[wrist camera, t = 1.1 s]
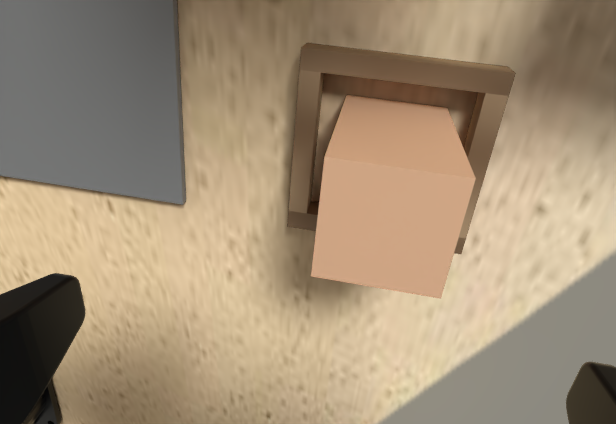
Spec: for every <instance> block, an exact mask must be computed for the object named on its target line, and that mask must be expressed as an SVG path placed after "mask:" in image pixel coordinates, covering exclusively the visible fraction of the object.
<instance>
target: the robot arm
mask: <svg viewBox="0 0 616 424" xmlns="http://www.w3.org/2000/svg"><path fill="white" fill-rule="evenodd" d="M84 318H85V306H84V301H83V296H82V292H81V287H80V283H79V280H78V279H77V278H76V277H74V276H71V275H65V274H59V273H54V274H50V275H48V276H45V277H43V278H40V279H38V280H35V281H33V282H31V283H28V284H26V285H23V286H21V287H18V288H16V289H13V290H11V291H8V292H6V293H3V294H1V295H0V424H60V423H61V416H60V412H59V408H58V404H57V401H56V397H55V393H54V389H53V385H52V381H51V379H52V377H53V375H54V374H55V372H56V370H57V368H58V366H59V365H60V363H61V361H62V359H63V357H64V356H65V354H66V352H67V350H68V349H69V347H70V345H71V343H72V341H73V340H74V338H75V336H76V334H77V332H78V331H79V329H80V327H81V325H82V323H83V321H84ZM566 409H567V414H568V420H569V424H616V367H614V366H612V365H608V364H602V363H596V362H586V363H584V364H583V365H582V367H581V368H580V370H579V372H578V374H577V376H576V378H575V380H574V382H573V384H572V386H571V388H570V390H569V392H568V395H567V400H566Z"/></svg>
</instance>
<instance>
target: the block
mask: <svg viewBox="0 0 616 424" xmlns="http://www.w3.org/2000/svg"><path fill="white" fill-rule="evenodd" d="M475 179H476V178H475V175H474V173H473V170H472V168H471V166H470V163H469V161H468V158H467V156H466V153H465V151H464V148H463V146H462V143H461V141H460V138H459V136H458V133H457V131H456V128H455V126H454V123H453V121H452V118H451V116H450V113H449V111H448V109H447V108H445V107H437V106H429V105H422V104H414V103H406V102H398V101H391V100H383V99H375V98H367V97H360V96H352V95H346V98H345V101H344V104H343V107H342V109H341V112H340V115H339V118H338V120H337V123H336V126H335V129H334V132H333V134H332V137H331V140H330V143H329V146H328V148H327V151H326V154H325V157H324V165H323V174H322V183H321V191H320V200H319V209H318V218H317V227H316V236H315V244H314V253H313V262H312V271H311V276H312V277H318V278H323V279H329V280H335V281H341V282H347V283H353V284H359V285H365V286H370V287H376V288H382V289H388V290H394V291H400V292H406V293H412V294H417V295H423V296H429V297H435V298H441V296H442V293H443V289H444V286H445V282H446V279H447V275H448V272H449V269H450V265H451V262H452V258H453V255H454V251H455V248H456V245H457V241H458V238H459V234H460V231H461V227H462V224H463V221H464V217H465V214H466V210H467V207H468V203H469V200H470V197H471V193H472V190H473V186H474V183H475Z"/></svg>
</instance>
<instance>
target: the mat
mask: <svg viewBox="0 0 616 424" xmlns="http://www.w3.org/2000/svg"><path fill="white" fill-rule="evenodd" d="M0 176H6V177H12V178H18V179H25V180H31V181H37V182H44V183H50V184H56V185H63V186H69V187H75V188H81V189H88V190H94V191H100V192H107V193H113V194H119V195H126V196H132V197H138V198H144V199H151V200H157V201H163V202H170V203H176V204H182V205H183V204H184V203H185V202H186V187H185V165H184V143H183V121H182V99H181V77H180V54H179V32H178V10H177V0H0Z"/></svg>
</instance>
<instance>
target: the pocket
mask: <svg viewBox="0 0 616 424" xmlns="http://www.w3.org/2000/svg"><path fill="white" fill-rule="evenodd" d="M324 73H328V74H336V75H344V76H352V77H360V78H368V79H376V80H384V81H392V82H400V83H408V84H416V85H424V86H432V87H440V88H448V89H456V90H464V91H472V92H478V95H477V99H476V103H475V107H474V110H473V114H472V118H471V122H470V125H469V129H468V133H467V137H466V140H465V144H464V151H465V153H466V156H467V158H468V161H469V163H470V166H471V168H472V170H473V173H474V175H475V178H476V179H475V183H474V186H473V190H472V193H471V197H470V200H469V203H468V207H467V210H466V214H465V217H464V221H463V224H462V227H461V231H460V234H459V238H458V241H457V245H456V248H455V251H454V253H457V254H461V253H462V250H463V246H464V243H465V240H466V236H467V233H468V230H469V226H470V223H471V220H472V216H473V213H474V210H475V207H476V203H477V200H478V197H479V193H480V190H481V187H482V183H483V180H484V177H485V173H486V170H487V167H488V163H489V160H490V157H491V153H492V150H493V147H494V143H495V140H496V137H497V133H498V130H499V127H500V123H501V120H502V117H503V113H504V110H505V107H506V103H507V100H508V97H509V93H510V90H511V87H512V83H513V80H514V77H515V72H514V71H512V70H511V69H510V68H509V67H505V66H497V65H488V64H480V63H472V62H463V61H455V60H446V59H438V58H430V57H421V56H413V55H404V54H396V53H387V52H379V51H371V50H362V49H354V48H345V47H337V46H329V45H320V44H312V43H306V44H305V45H303V46H302V47H301V56H300V69H299V82H298V95H297V108H296V121H295V134H294V147H293V159H292V172H291V185H290V198H289V211H288V224H287V226H288V227H294V228H300V229H307V230H313V231H316V227H317V218H318V209H319V202H312V201H311V195H312V185H313V175H314V166H315V156H316V146H317V137H318V127H319V117H320V107H321V98H322V88H323V78H324Z"/></svg>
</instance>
